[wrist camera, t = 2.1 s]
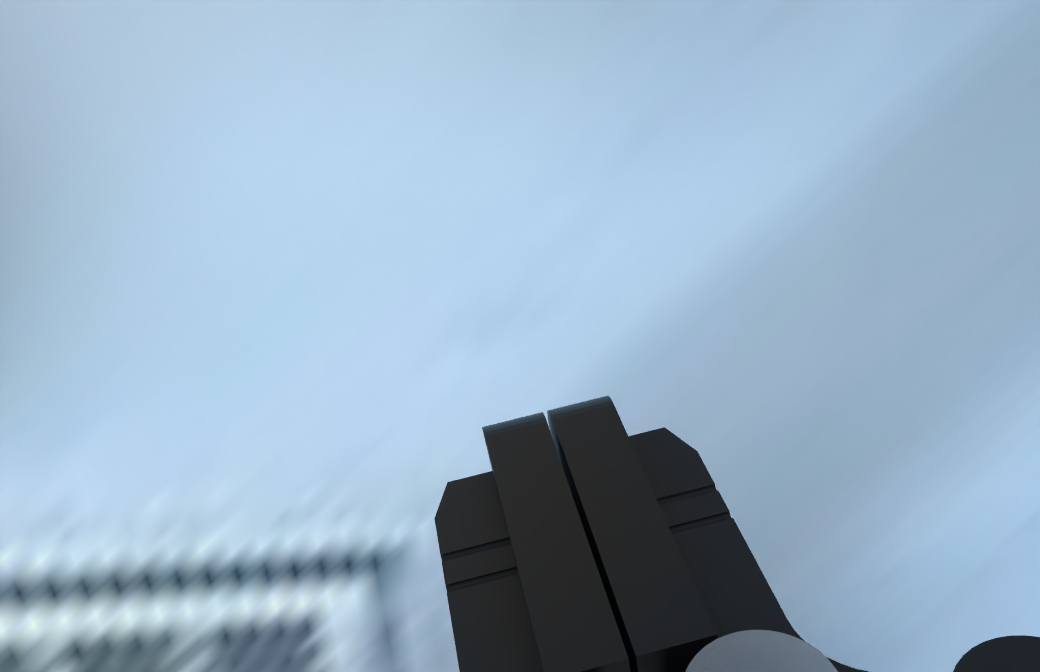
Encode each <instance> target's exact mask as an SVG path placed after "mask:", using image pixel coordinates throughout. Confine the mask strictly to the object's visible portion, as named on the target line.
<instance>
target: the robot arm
mask: <svg viewBox="0 0 1040 672" xmlns="http://www.w3.org/2000/svg"><path fill="white" fill-rule="evenodd" d="M547 414H548V422H549V427H548V424H547V421H546V418H545V416H544V414H543V412H542V413H538V414H534V415H530V416H526V417H522V418H517V419H513V420H509V421H505V422H501V423H497V424H493V425H489V426H485V427H482V429H483V433H484V437H485V442H486V446H487V450H488V454H489V458H490V463H491V467H492V471H491V472H487V473H483V474H479V475H475V476H471V477H467V478H463V479H459V480H455V481H451V482H448V483H447V486H446V488H445V491H444V494H443V497H442V499H441V502H440V505H439V508H438V510H437V513H436V516H435V524H436V530H437V536H438V542H439V548H440V554H441V558H442V566H443V572H444V578H445V584H446V588H447V597H448V603H449V609H450V615H451V621H452V627H453V633H454V639H455V645H456V651H457V657H458V663H459V669H460V672H868V671H863V670H858V669H855V668H852V667H849V666H846V665H843V664H840V663H838V662H836V661H834V660H832V659H830V658H827V657H826V656H824V655H823V654H822V653H821V652H820V651H819V650H817V649H816V648H814V647H813V646H811V645H810V644H808V643H807V642H805V641H804V640H803V639H802V638H801V637H800V636H799V635H798V634H797V633H796V632H795V630H794V629H793V628H792V626H791V624H790V623H789V621H788V620H787V618H786V616H785V614H784V613H783V611H782V609H781V607H780V605H779V603H778V601H777V599H776V598H775V596H774V594H773V592H772V590H771V588H770V586H769V584H768V583H767V581H766V579H765V577H764V575H763V573H762V571H761V570H760V568H759V566H758V564H757V562H756V560H755V558H754V556H753V555H752V553H751V551H750V549H749V547H748V545H747V543H746V541H745V540H744V538H743V536H742V534H741V532H740V530H739V528H738V527H737V525H736V523H735V521H734V519H733V518H731V516H730V513H729V510H728V508H727V506H726V504H725V502H724V500H723V499H722V497H721V495H720V493H719V491H717V490H716V488H715V484H714V482H713V480H712V478H711V476H710V474H709V472H708V470H707V469H706V467H705V465H704V463H703V461H702V459H701V457H700V456H699V454H698V452H697V451H696V450H695V449H693V448H692V447H691V446H689V445H688V444H686V443H685V442H684V441H682V440H681V439H680V438H678V437H677V436H676V435H674V434H673V433H671V432H670V431H669V430H667V429H666V428H665V427H664V428H660V429H656V430H652V431H648V432H644V433H640V434H636V435H633V436H629V437H628V435H627V433H626V431H625V428H624V426H623V424H622V422H621V419H620V417H619V415H618V413H617V411H616V408H615V406H614V404H613V402H612V400H611V398H610V397H609V396H605V397H601V398H597V399H593V400H589V401H585V402H581V403H577V404H573V405H569V406H565V407H561V408H557V409H553V410H549V411H548V412H547ZM549 428H550V430H549ZM953 672H1040V637H1033V636H1006V637H999V638H995V639H991V640H988V641H985V642H983V643H981V644H979V645H977V646H975V647H973V648H972V649H971V650H969V651H968V652H967V653H966V654H965V655H963V657H962V658H961V659H960V660H959V662H958V663H957V664H956V666H955V669H954V671H953Z"/></svg>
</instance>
